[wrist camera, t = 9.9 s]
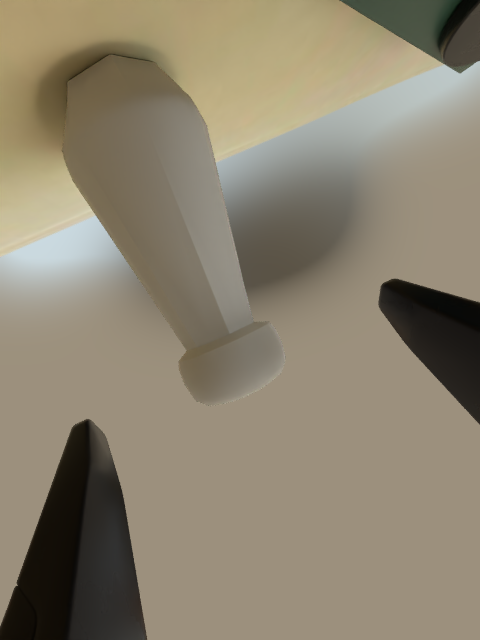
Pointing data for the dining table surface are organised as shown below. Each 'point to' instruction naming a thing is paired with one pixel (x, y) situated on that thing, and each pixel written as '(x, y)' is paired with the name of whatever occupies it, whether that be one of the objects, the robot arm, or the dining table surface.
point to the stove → (412, 20)
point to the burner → (462, 35)
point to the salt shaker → (169, 219)
